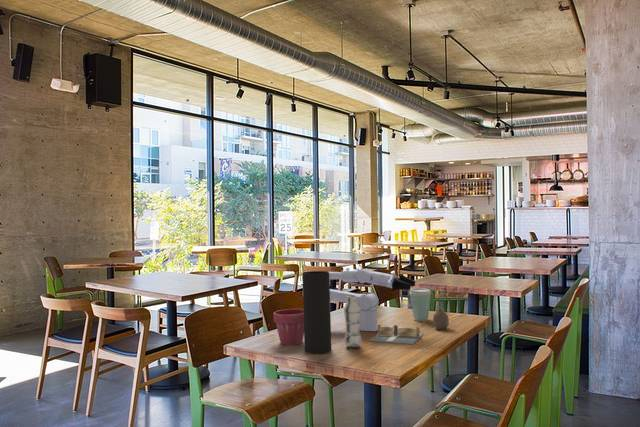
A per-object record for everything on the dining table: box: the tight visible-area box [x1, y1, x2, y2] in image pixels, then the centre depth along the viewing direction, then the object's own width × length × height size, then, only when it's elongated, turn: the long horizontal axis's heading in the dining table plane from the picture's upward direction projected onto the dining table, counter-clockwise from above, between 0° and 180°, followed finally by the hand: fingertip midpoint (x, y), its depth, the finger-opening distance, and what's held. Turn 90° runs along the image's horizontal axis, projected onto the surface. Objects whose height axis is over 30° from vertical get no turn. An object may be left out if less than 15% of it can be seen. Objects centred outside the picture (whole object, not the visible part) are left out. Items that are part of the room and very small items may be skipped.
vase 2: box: [432, 308, 450, 331], centre depth 238 cm, size 7×7×9 cm
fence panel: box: [398, 326, 421, 338], centre depth 223 cm, size 9×1×4 cm, turn 66°
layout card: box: [368, 330, 424, 345], centre depth 223 cm, size 18×19×1 cm
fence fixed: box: [377, 324, 399, 336], centre depth 227 cm, size 9×2×5 cm, turn 66°
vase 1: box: [302, 270, 332, 355], centre depth 206 cm, size 10×10×30 cm
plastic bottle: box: [343, 295, 362, 349], centre depth 210 cm, size 6×7×20 cm
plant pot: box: [273, 308, 304, 346], centre depth 220 cm, size 14×14×13 cm
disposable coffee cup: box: [408, 287, 432, 322], centre depth 258 cm, size 11×11×15 cm
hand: (412, 285), depth 232 cm, fingers open, 7 cm apart
